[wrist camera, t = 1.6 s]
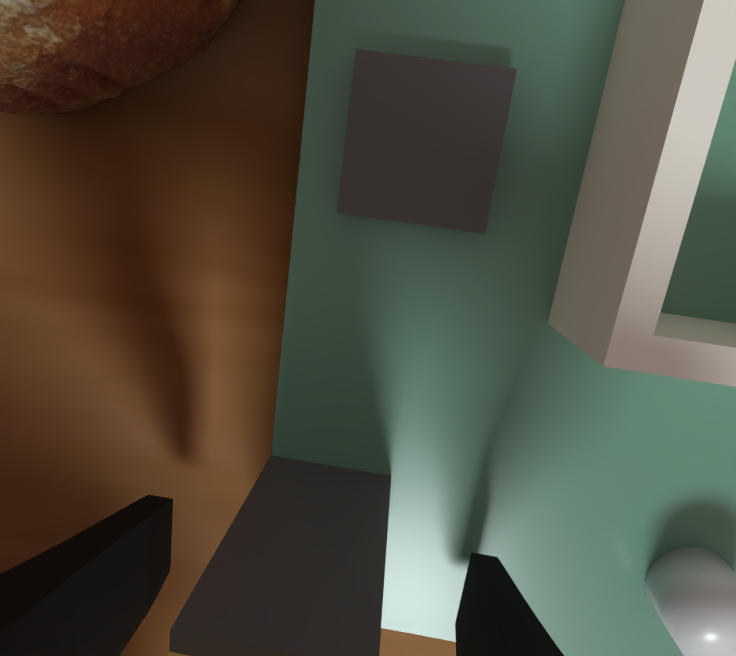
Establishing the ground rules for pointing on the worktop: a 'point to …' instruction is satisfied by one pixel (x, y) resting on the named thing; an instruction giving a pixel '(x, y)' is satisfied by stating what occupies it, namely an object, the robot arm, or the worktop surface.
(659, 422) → the board
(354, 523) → the plug
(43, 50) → the bread roll
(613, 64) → the white rectangular frame
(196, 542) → the worktop surface
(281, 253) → the worktop surface
